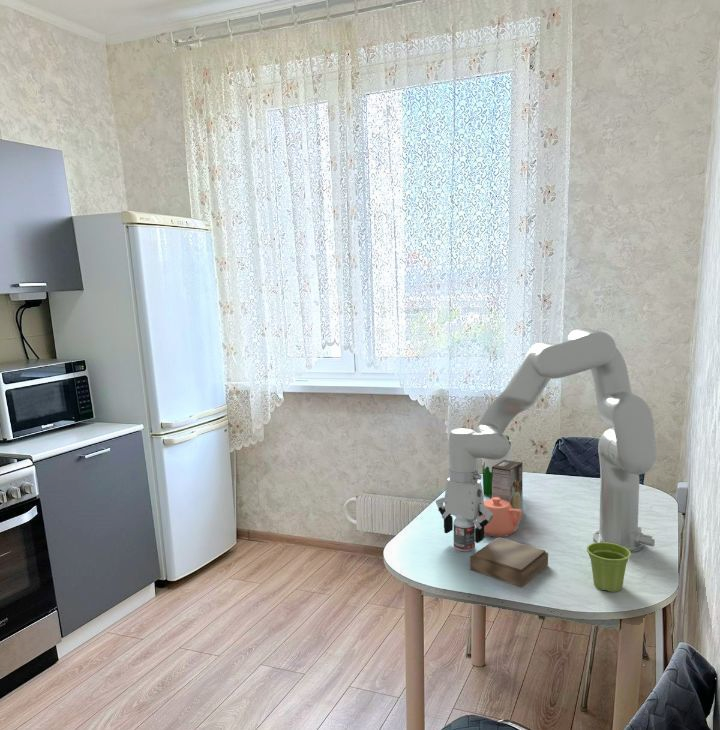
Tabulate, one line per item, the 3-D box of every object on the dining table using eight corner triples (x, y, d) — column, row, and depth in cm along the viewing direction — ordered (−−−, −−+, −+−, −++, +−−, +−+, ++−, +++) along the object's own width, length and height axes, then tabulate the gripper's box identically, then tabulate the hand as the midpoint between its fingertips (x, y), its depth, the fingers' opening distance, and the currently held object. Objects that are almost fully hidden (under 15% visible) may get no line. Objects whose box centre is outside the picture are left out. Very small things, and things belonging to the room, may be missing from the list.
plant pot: (577, 580, 140) (578, 545, 138) (610, 573, 142) (610, 539, 141) (605, 599, 131) (605, 562, 130) (639, 591, 134) (640, 555, 132)
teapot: (512, 544, 160) (512, 510, 159) (456, 527, 172) (455, 496, 171) (532, 529, 169) (532, 498, 168) (477, 515, 181) (477, 485, 180)
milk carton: (505, 499, 194) (505, 440, 191) (479, 495, 198) (479, 437, 196) (513, 491, 201) (513, 434, 199) (488, 487, 206) (487, 431, 203)
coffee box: (503, 507, 186) (503, 458, 184) (523, 511, 183) (523, 462, 181) (491, 517, 179) (491, 466, 177) (511, 521, 175) (511, 469, 173)
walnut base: (548, 565, 147) (548, 550, 147) (522, 587, 137) (522, 571, 136) (498, 550, 157) (498, 536, 156) (470, 569, 146) (470, 554, 146)
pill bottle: (470, 553, 155) (469, 518, 154) (450, 549, 158) (449, 514, 157) (478, 545, 160) (477, 510, 159) (458, 541, 163) (458, 507, 162)
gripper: (499, 478, 153) (499, 540, 156) (444, 466, 165) (444, 524, 167) (484, 485, 148) (484, 550, 150) (428, 472, 159) (429, 532, 162)
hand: (463, 536), depth 159 cm, fingers open, 9 cm apart
